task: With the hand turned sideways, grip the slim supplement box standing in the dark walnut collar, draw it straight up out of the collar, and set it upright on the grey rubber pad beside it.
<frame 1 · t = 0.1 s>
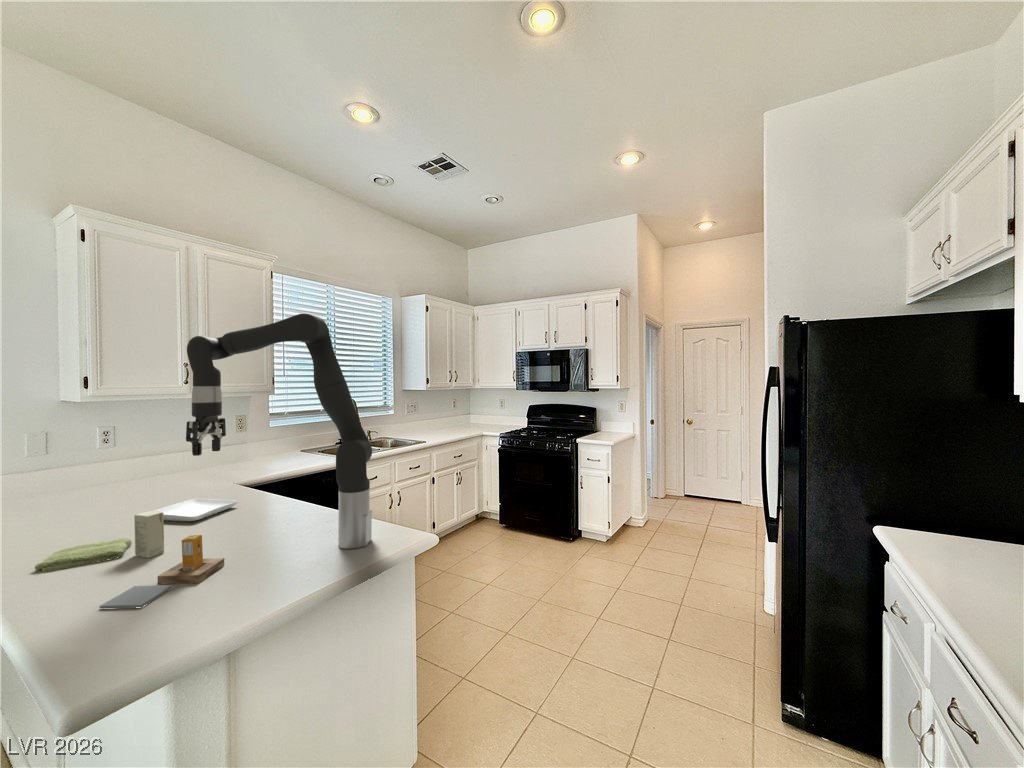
hand: (206, 453, 126), 29 cm above the worktop, tool pointing down, fingers open, 8 cm apart
grey rubber pad: (137, 598, 96), on the worktop
walnut collar: (192, 574, 108), on the worktop
supplement box: (192, 575, 108), resting in walnut collar
washcloth: (87, 560, 118), on the worktop
skincare box: (149, 555, 121), on the worktop
salad plate: (194, 515, 158), on the worktop
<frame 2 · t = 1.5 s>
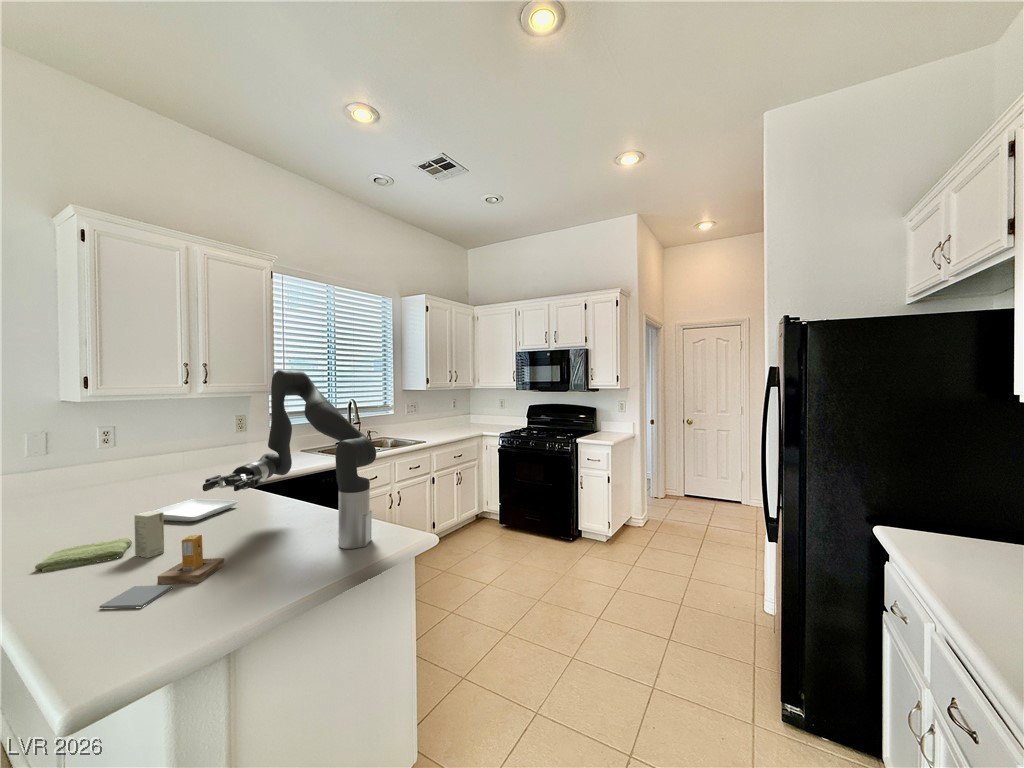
hand: (219, 487, 119), 20 cm above the worktop, tool horizontal, fingers open, 8 cm apart
nothing on the worktop moved.
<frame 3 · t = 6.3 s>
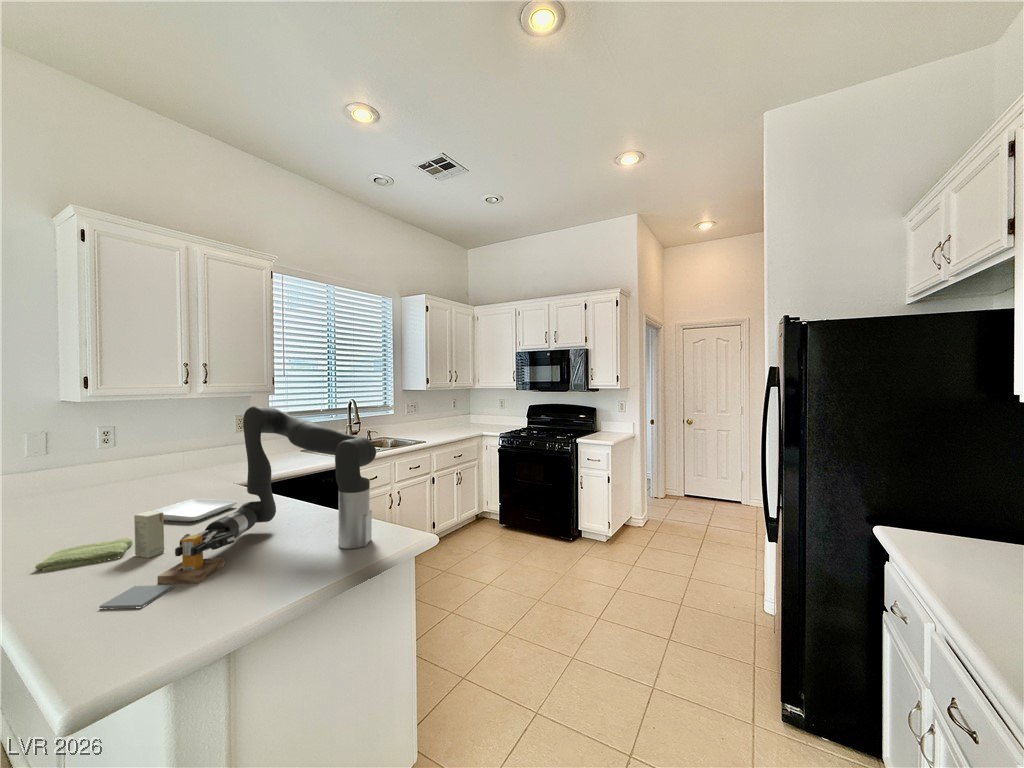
hand: (184, 552, 105), 7 cm above the worktop, tool horizontal, fingers closed on supplement box, 3 cm apart
supplement box: (192, 575, 108), resting in walnut collar, touching gripper
everything else where it was.
when the fingers open (8 cm above the worktop, at t = 11.9 s): supplement box stays where it is, resting on grey rubber pad.
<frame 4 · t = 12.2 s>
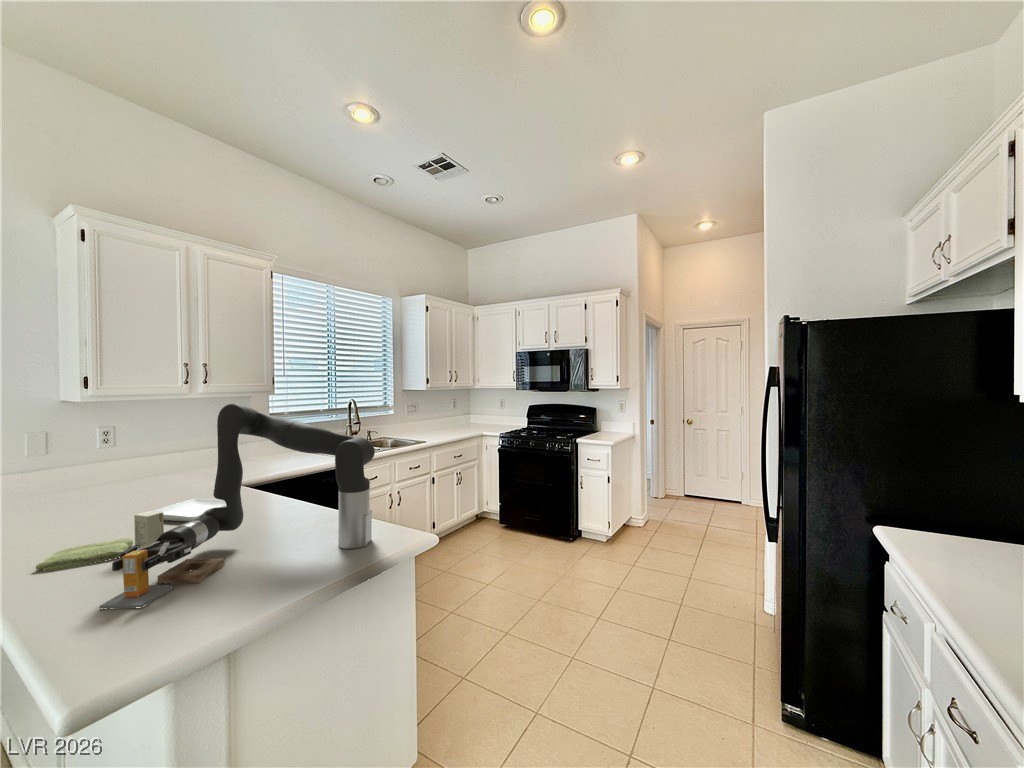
hand: (128, 566, 93), 9 cm above the worktop, tool horizontal, fingers open, 6 cm apart
supplement box: (136, 595, 96), point 1 cm above the worktop, touching grey rubber pad
everything else where it was.
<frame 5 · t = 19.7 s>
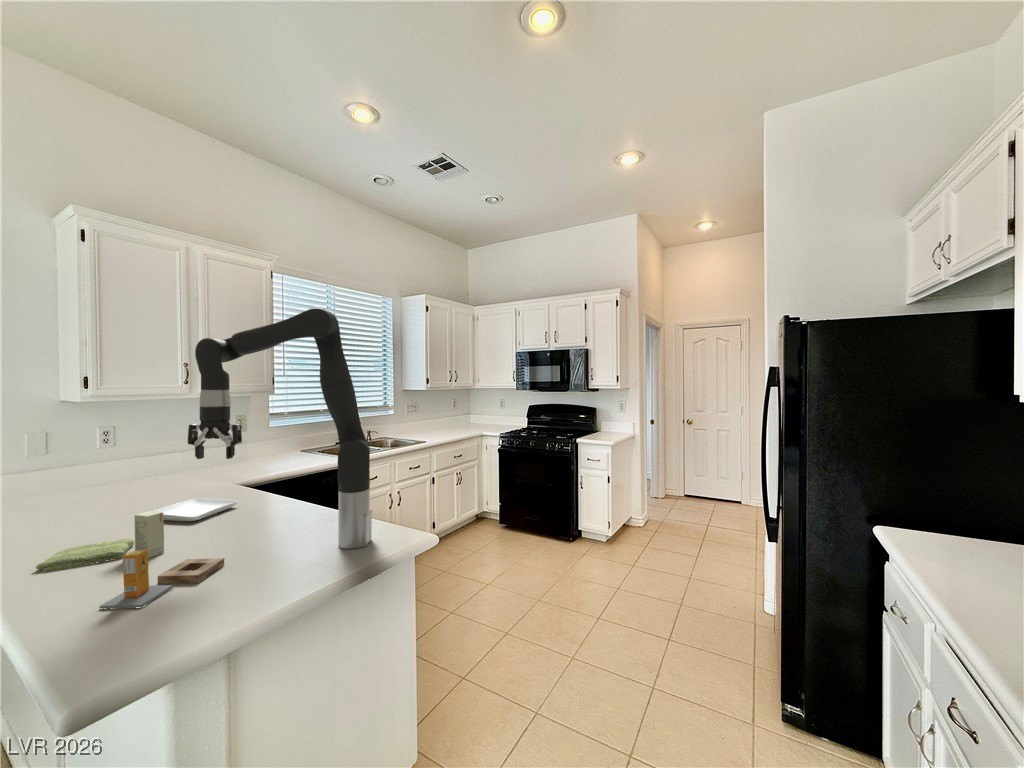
hand: (215, 458, 123), 28 cm above the worktop, tool pointing down, fingers open, 8 cm apart
nothing on the worktop moved.
at the end: supplement box inside the target area on the grey rubber pad (0.6 cm from its centre), point 0.6 cm above the grey rubber pad's base; supplement box tilted 0°; the gripper is holding nothing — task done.
